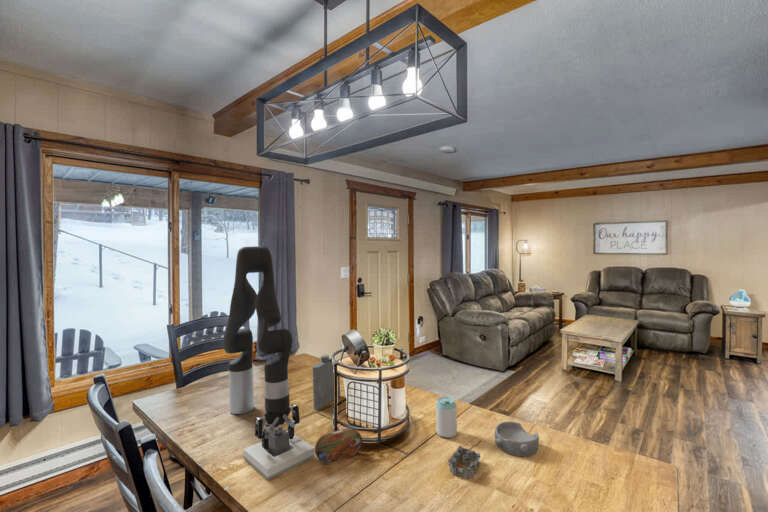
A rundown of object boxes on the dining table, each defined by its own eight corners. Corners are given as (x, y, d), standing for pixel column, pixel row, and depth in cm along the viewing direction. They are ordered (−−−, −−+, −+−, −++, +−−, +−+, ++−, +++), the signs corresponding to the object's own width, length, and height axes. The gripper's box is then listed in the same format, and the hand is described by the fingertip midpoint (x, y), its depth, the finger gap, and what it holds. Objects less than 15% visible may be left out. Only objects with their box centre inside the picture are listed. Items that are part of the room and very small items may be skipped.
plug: (268, 455, 119) (267, 428, 119) (282, 449, 122) (281, 423, 122) (275, 461, 116) (274, 433, 115) (289, 454, 119) (288, 428, 119)
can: (460, 433, 131) (460, 399, 131) (449, 441, 126) (449, 406, 126) (443, 426, 136) (443, 394, 136) (432, 434, 131) (431, 400, 131)
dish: (506, 431, 133) (506, 417, 132) (546, 445, 123) (546, 430, 122) (485, 447, 122) (485, 432, 122) (526, 464, 113) (526, 448, 112)
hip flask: (318, 410, 152) (316, 361, 151) (310, 408, 154) (309, 360, 153) (341, 396, 166) (340, 351, 165) (334, 394, 168) (333, 350, 167)
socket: (243, 458, 119) (243, 447, 119) (288, 438, 130) (288, 428, 130) (267, 480, 108) (267, 467, 108) (314, 456, 119) (314, 445, 119)
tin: (317, 467, 113) (316, 440, 113) (314, 462, 116) (313, 435, 116) (362, 453, 120) (362, 427, 120) (358, 449, 123) (358, 423, 123)
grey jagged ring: (470, 482, 105) (470, 468, 105) (445, 473, 109) (445, 460, 109) (483, 463, 114) (482, 449, 114) (459, 455, 118) (459, 443, 118)
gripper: (290, 383, 126) (292, 431, 126) (249, 396, 116) (251, 448, 117) (302, 389, 121) (304, 439, 121) (261, 403, 111) (263, 457, 111)
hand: (278, 443), depth 119 cm, fingers open, 8 cm apart
